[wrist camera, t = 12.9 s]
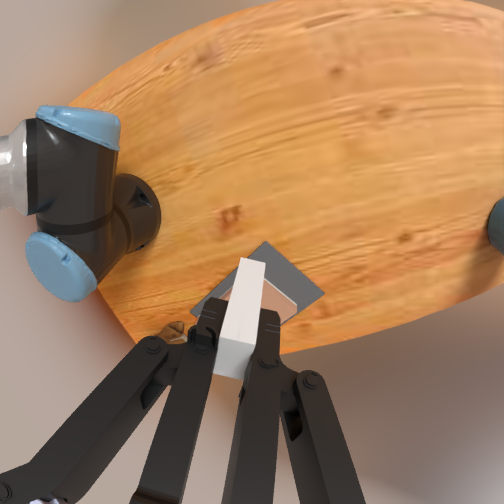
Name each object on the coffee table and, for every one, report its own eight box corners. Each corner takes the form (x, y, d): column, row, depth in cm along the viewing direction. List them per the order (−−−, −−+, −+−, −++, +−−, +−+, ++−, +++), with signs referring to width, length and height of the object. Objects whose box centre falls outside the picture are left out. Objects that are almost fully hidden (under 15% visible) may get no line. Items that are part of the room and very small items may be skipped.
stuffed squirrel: (205, 348, 64) (192, 391, 52) (158, 350, 67) (141, 388, 55) (188, 319, 59) (171, 362, 48) (140, 323, 63) (119, 361, 51)
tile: (251, 275, 48) (194, 324, 56) (297, 312, 51) (237, 352, 59) (252, 268, 51) (197, 316, 58) (296, 304, 54) (238, 344, 61)
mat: (265, 240, 48) (265, 241, 48) (324, 292, 52) (324, 293, 52) (190, 310, 58) (189, 312, 58) (244, 348, 62) (244, 349, 62)
